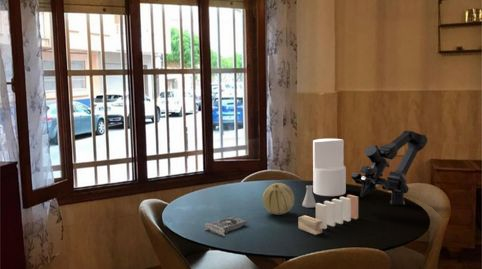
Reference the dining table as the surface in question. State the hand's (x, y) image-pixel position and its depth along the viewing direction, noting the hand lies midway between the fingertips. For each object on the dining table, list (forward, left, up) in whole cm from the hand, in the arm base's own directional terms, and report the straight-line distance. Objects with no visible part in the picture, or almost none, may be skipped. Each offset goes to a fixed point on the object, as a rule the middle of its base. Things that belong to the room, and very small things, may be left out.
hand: (361, 196), depth 219 cm
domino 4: (+8, -7, -9) cm, 14 cm away
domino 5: (+5, -4, -9) cm, 11 cm away
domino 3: (+12, -10, -9) cm, 18 cm away
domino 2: (+16, -13, -9) cm, 23 cm away
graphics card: (+28, -56, -10) cm, 63 cm away
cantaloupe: (+4, -38, -9) cm, 39 cm away
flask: (-11, -25, -9) cm, 28 cm away
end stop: (+25, -21, -9) cm, 34 cm away
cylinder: (-39, -17, -9) cm, 43 cm away
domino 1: (+20, -17, -9) cm, 27 cm away
